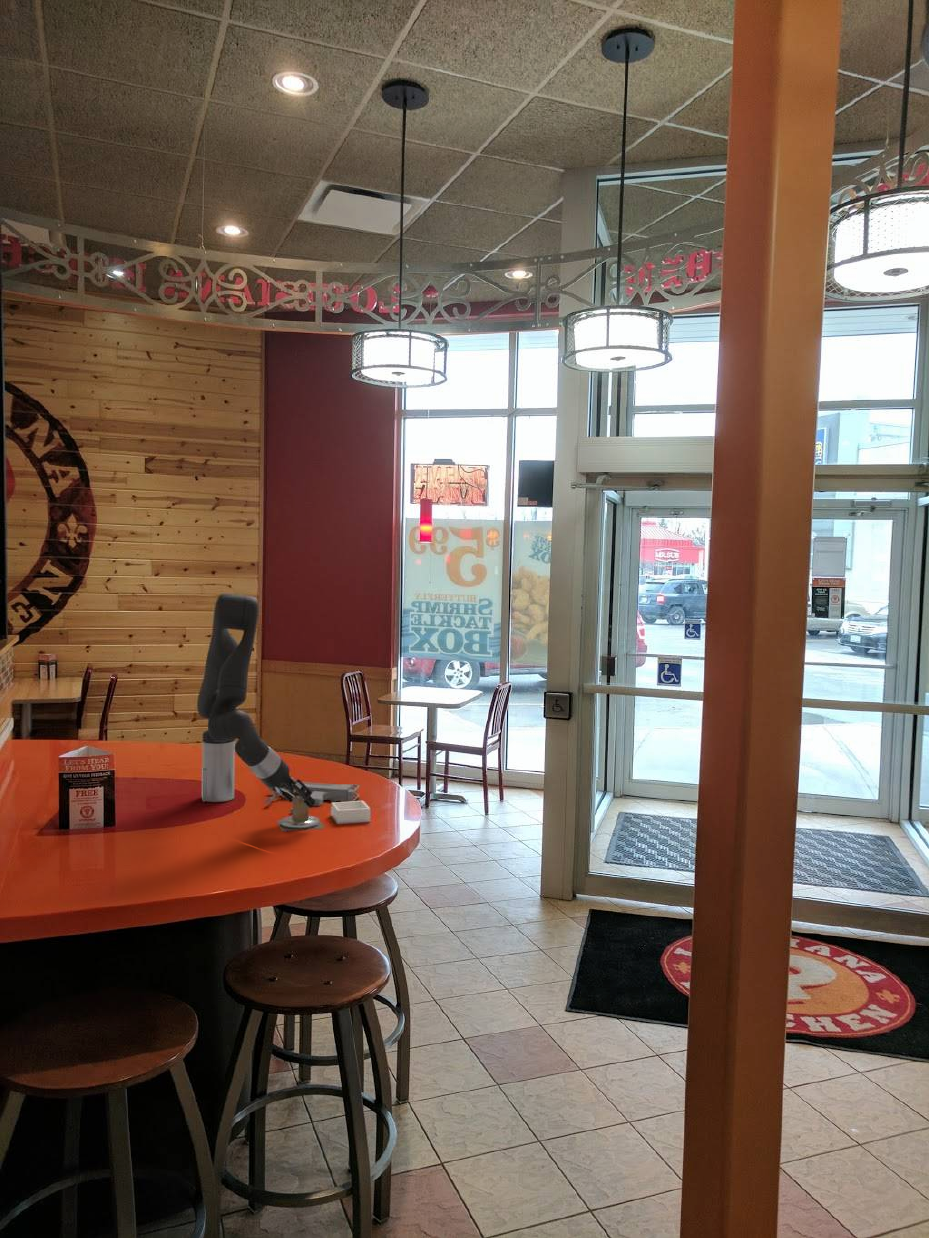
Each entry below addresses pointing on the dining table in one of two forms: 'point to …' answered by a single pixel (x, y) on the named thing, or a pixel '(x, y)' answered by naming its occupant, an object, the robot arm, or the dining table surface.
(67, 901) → the dining table surface
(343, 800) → the submachine gun
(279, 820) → the mat
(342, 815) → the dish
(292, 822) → the lid
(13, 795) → the dining table surface
